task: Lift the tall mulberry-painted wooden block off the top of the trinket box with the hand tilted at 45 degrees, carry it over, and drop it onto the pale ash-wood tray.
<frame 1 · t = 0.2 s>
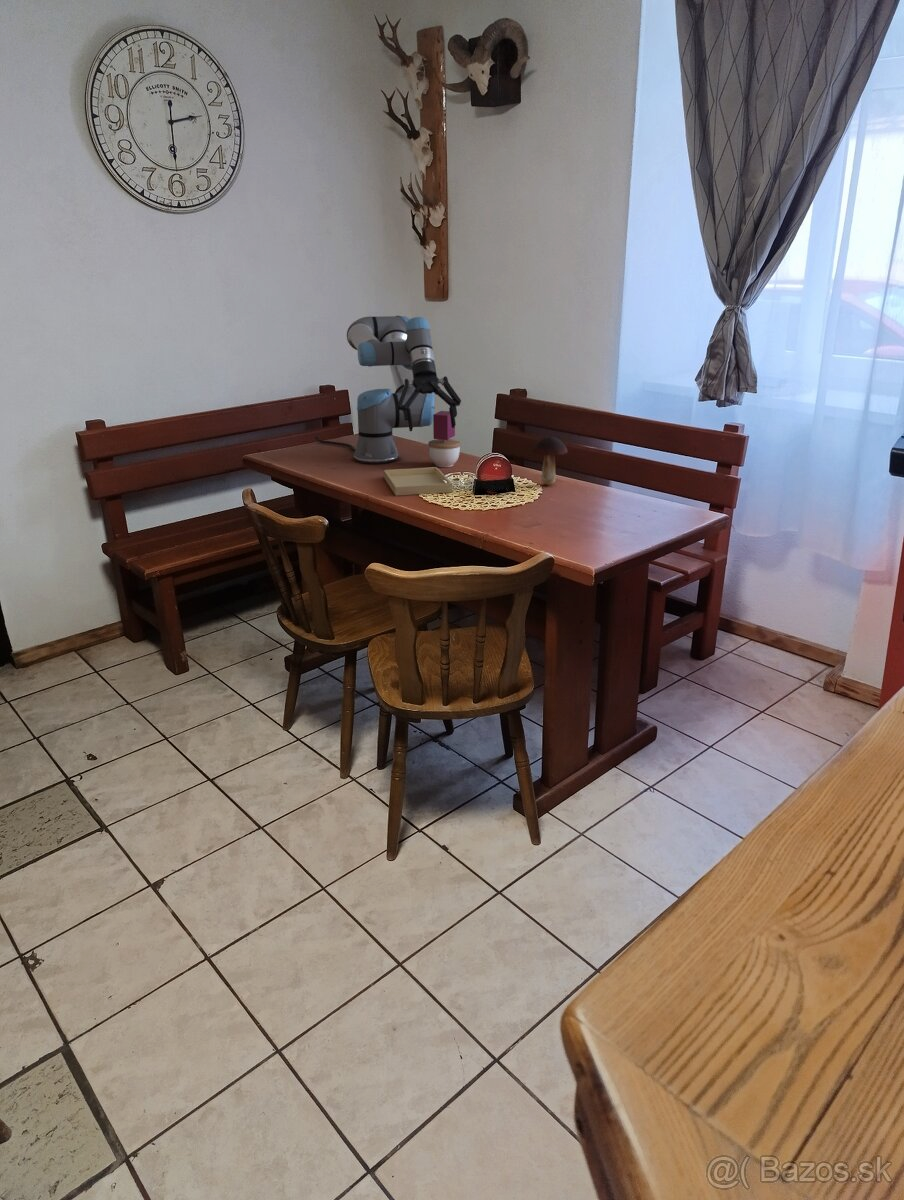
hand: (432, 428, 254), 16 cm above the table, tool tilted 35°, fingers open, 13 cm apart
trinket box: (444, 465, 274), on the table, touching mulberry block
decorative mushroom: (547, 485, 250), on the table
tomato: (494, 492, 244), on the table
mulberry block: (444, 437, 271), point 9 cm above the table, touching trinket box
tray: (417, 484, 251), on the table
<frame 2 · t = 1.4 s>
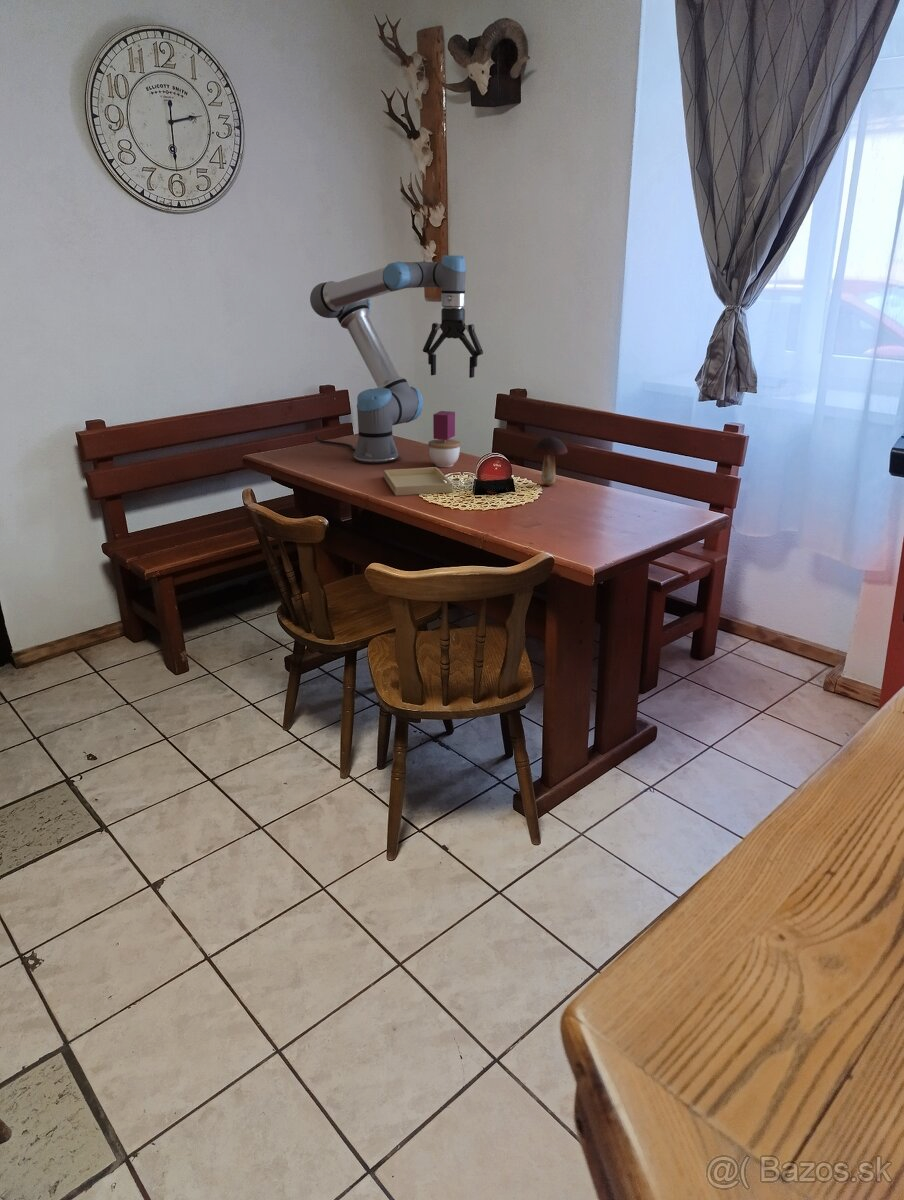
hand: (452, 376, 267), 29 cm above the table, tool pointing down, fingers open, 13 cm apart
nothing on the table moved.
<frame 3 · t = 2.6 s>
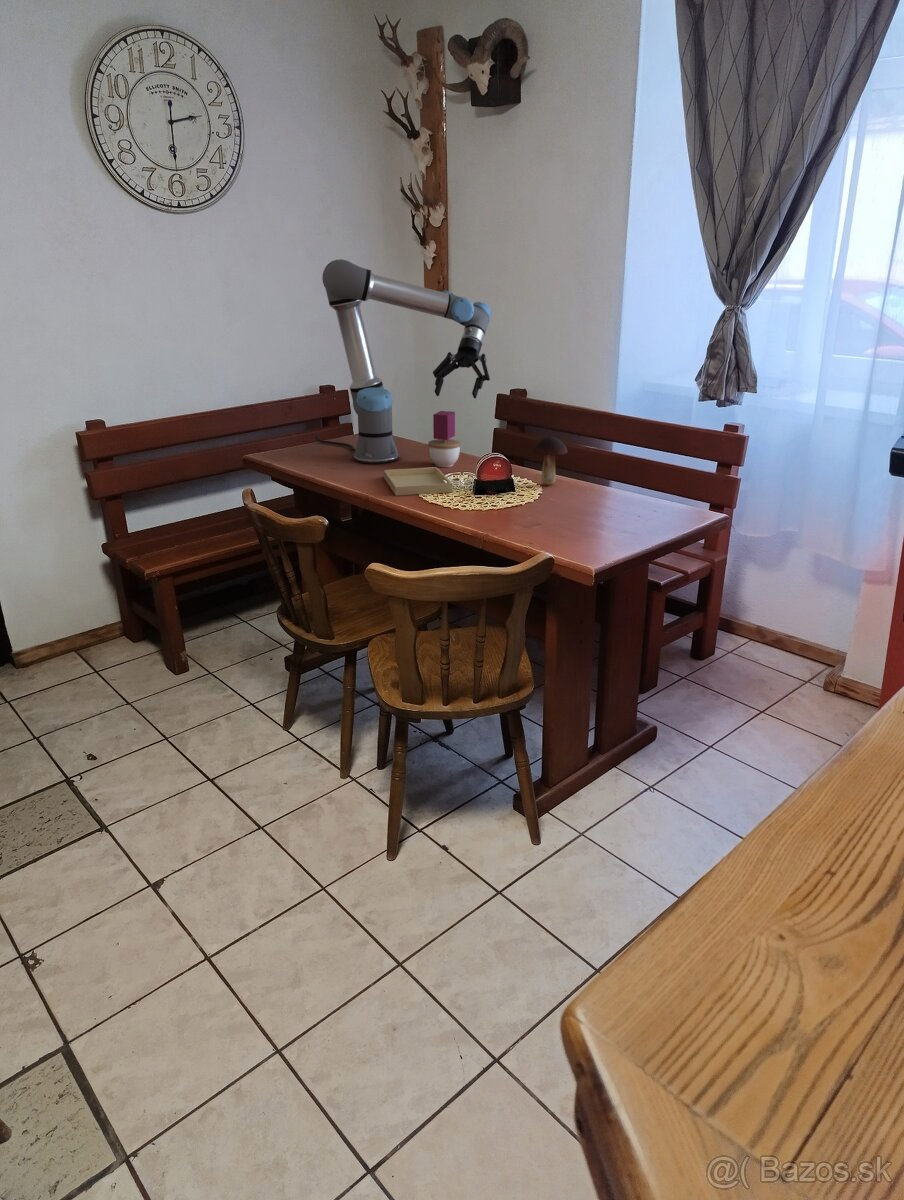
hand: (455, 394, 274), 22 cm above the table, tool tilted 45°, fingers open, 13 cm apart
nothing on the table moved.
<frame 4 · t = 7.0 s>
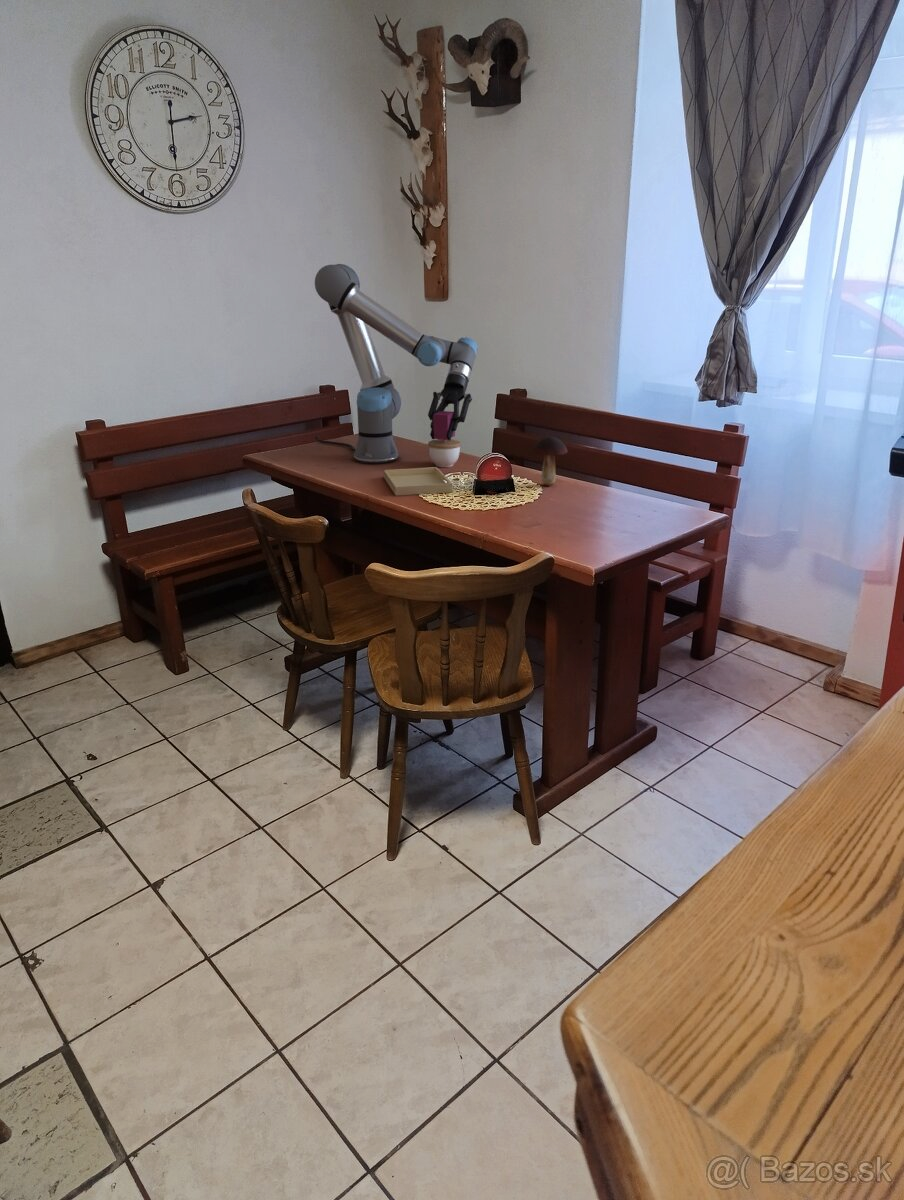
hand: (440, 437, 267), 10 cm above the table, tool tilted 45°, fingers closed on mulberry block, 5 cm apart
mulberry block: (444, 437, 271), point 9 cm above the table, touching gripper, trinket box
everything else where it was.
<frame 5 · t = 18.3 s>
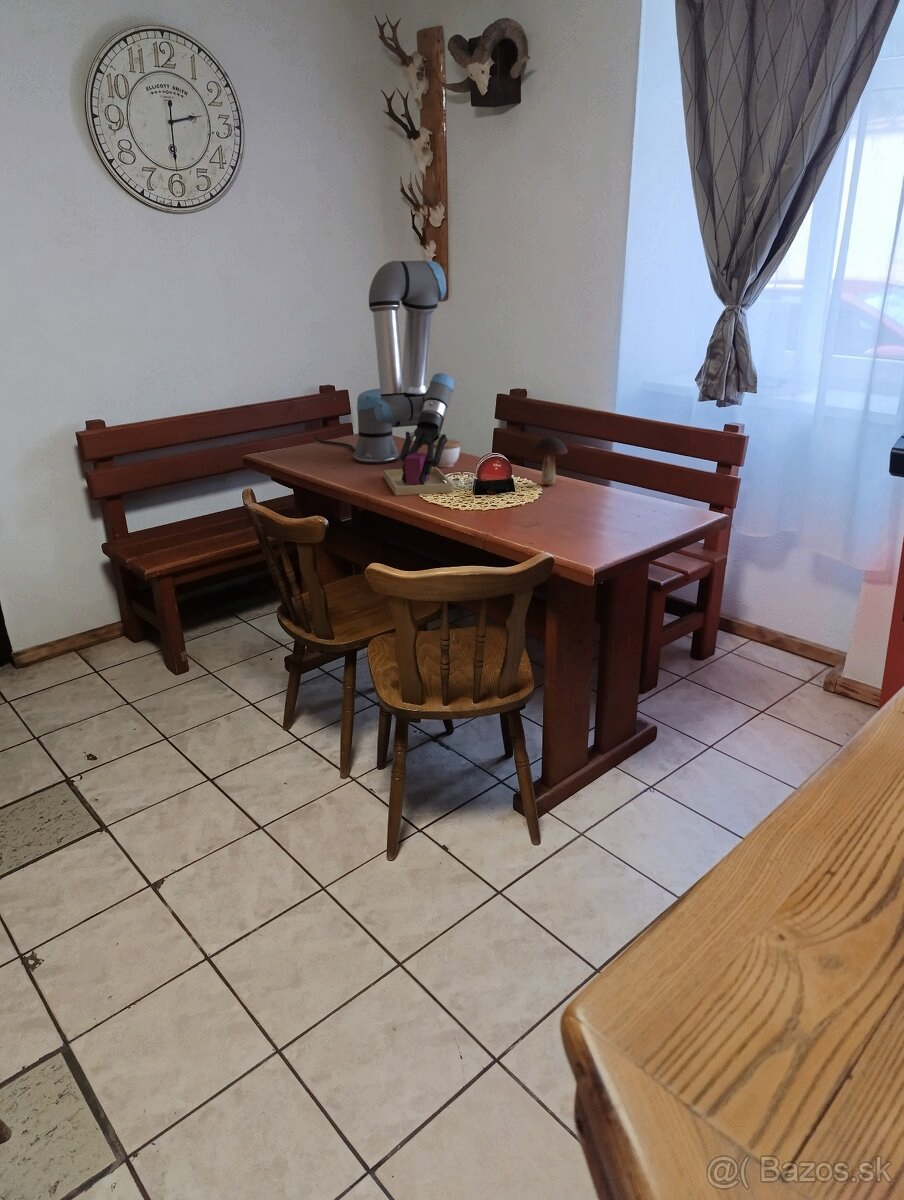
hand: (412, 481, 246), 2 cm above the table, tool tilted 45°, fingers closed on mulberry block, 5 cm apart
trinket box: (444, 465, 274), on the table
mulberry block: (417, 481, 250), point 1 cm above the table, touching gripper
everything else where it was.
when the fingers open (3 cm above the table, at t = 26.8 s): mulberry block drops 2 cm, resting on tray.
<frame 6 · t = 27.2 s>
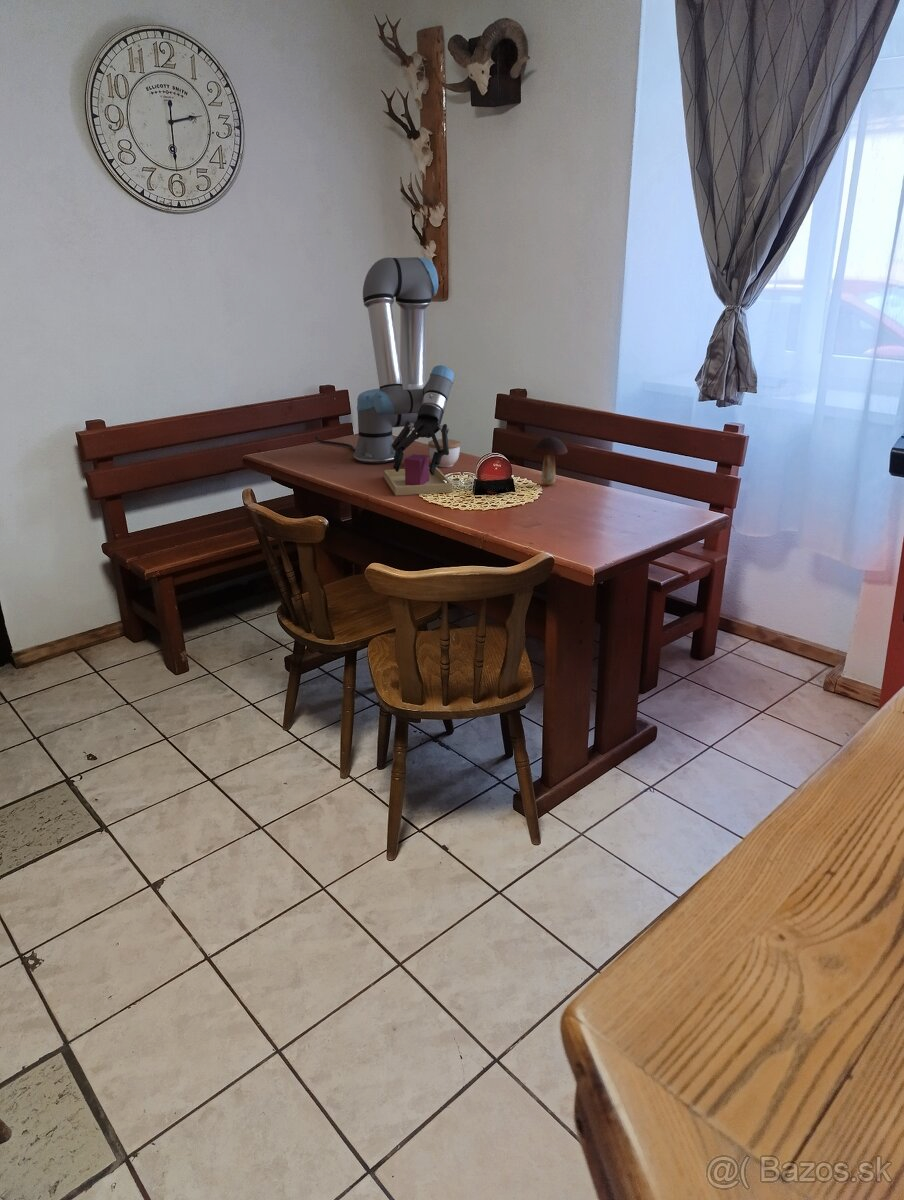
hand: (413, 471, 246), 5 cm above the table, tool tilted 45°, fingers open, 11 cm apart
mulberry block: (417, 482, 250), point 1 cm above the table, touching tray
everything else where it was.
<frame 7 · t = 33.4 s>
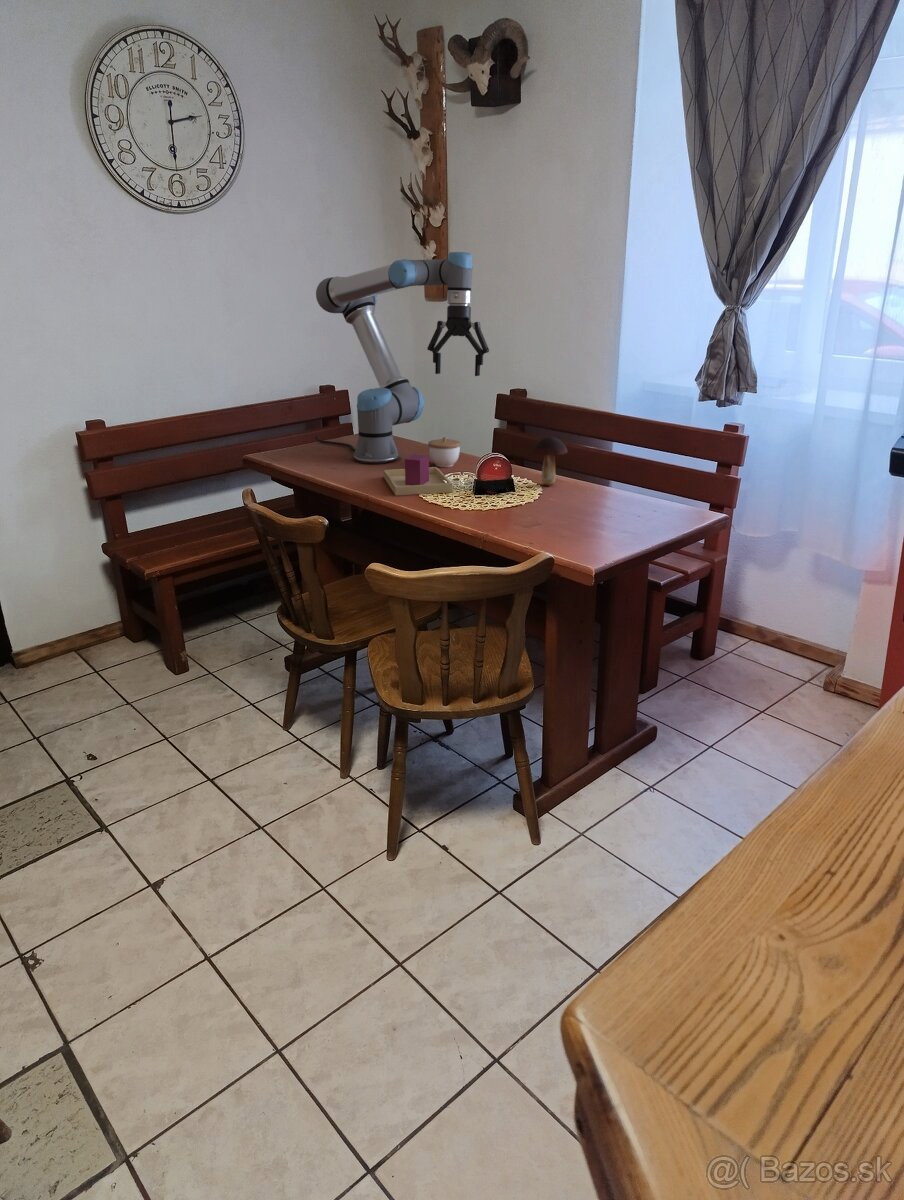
hand: (457, 374, 264), 30 cm above the table, tool pointing down, fingers open, 13 cm apart
nothing on the table moved.
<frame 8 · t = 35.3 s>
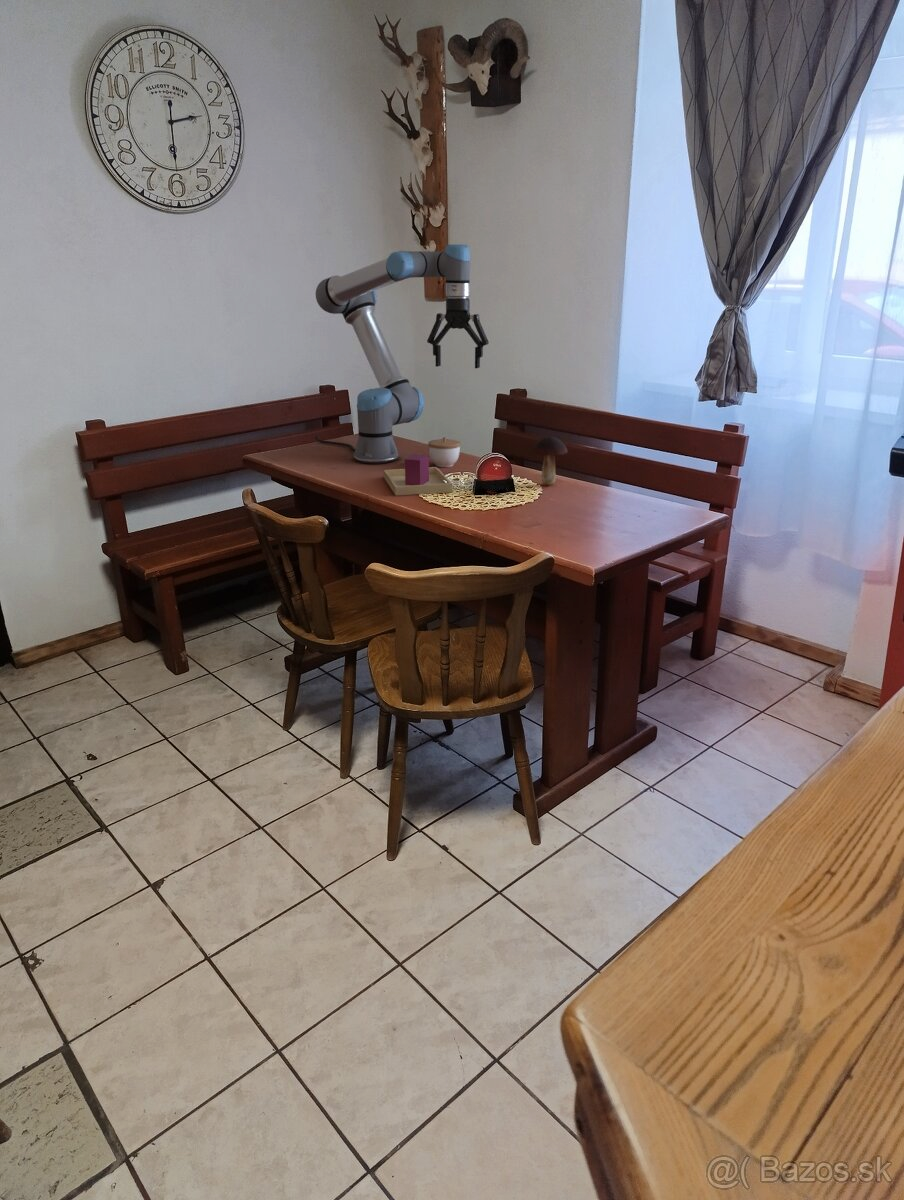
hand: (457, 367, 265), 32 cm above the table, tool pointing down, fingers open, 13 cm apart
nothing on the table moved.
at the end: mulberry block inside the target area in the tray (0.1 cm from its centre), point 0.6 cm above the tray's base; trinket box moved 0.2 cm from its start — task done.
